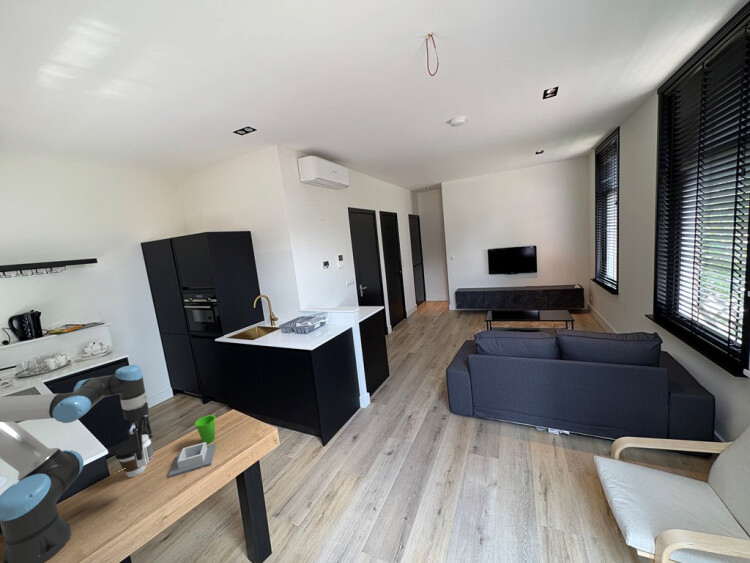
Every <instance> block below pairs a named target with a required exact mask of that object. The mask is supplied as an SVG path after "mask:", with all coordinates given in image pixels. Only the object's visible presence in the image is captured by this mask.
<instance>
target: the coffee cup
mask: <svg viewBox="0 0 750 563" xmlns="http://www.w3.org/2000/svg"><path fill="white" fill-rule="evenodd" d="M114 457H115V459H116V460H118V462H119V464H120V466H121V469H122V470H123V469H124V468H126V469H124V470H123V472H125V475H126V477H128V478H135V477H137V476H139V475H140V474H142V473H143V472H145V470H146V468H147V465H146V466H142V467H138V466H137V465H136V461H135V456H134V454H132V453H131V447H130V442H128V443H126V444H124V445H122V446H121V447H119V449H118V450H117V451H116V453H115V456H114Z"/></svg>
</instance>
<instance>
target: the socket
mask: <svg viewBox="0 0 750 563" xmlns="http://www.w3.org/2000/svg"><path fill="white" fill-rule="evenodd" d="M216 447H217V443H213V444H210V445H207V444H206V442H204V443H203V442H200V443H197V444H193V445H189V446H185V447H183V448H182V450H181V452H180V453H178V454H176V457H175V459H174V462H173V463H172V466H171V469H170V471H169V474H168V478H172V477H176V476H179V475H183V474H185V473H189V472H192V471H196V470H200V469H202V468H206V467H209V466H212V463H213V458H214V454H215V451H216Z"/></svg>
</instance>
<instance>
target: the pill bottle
mask: <svg viewBox="0 0 750 563" xmlns="http://www.w3.org/2000/svg"><path fill="white" fill-rule="evenodd" d="M149 439H150V438H149V437H148V435H142V445H143V449H144V451H145V456H146V461H147V464H149V463H151V462H152V461H153V460H154V459H155V458H154V457H155V454H154V450H153V444H152V441H151V439H150V440H149ZM134 456H135V461H136V465H137V460H136V455H135V454H134Z"/></svg>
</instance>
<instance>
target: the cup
mask: <svg viewBox="0 0 750 563" xmlns="http://www.w3.org/2000/svg"><path fill="white" fill-rule="evenodd" d="M216 418H217V417H216V416H215V415H213V414H208V415H204V416H202V417H200V418H198V419H197V420H196V421H195V423H194V426H195V427H196V429H197V432H198V433H199V436H200V440H201V441H202V442H201V443H204V442H206V444H211V443H213V442H214V441H215V439H216V438H215V437H216V435H215V434H216V428H215V427H216Z"/></svg>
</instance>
